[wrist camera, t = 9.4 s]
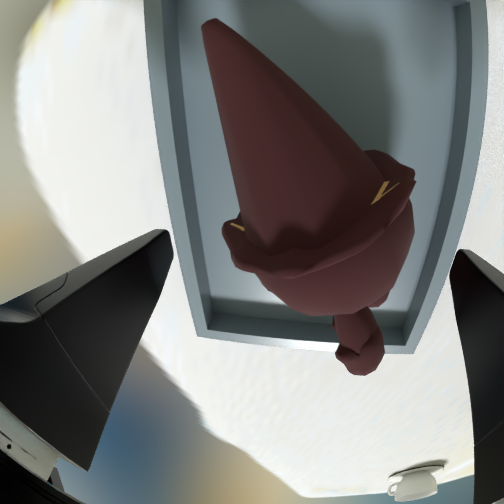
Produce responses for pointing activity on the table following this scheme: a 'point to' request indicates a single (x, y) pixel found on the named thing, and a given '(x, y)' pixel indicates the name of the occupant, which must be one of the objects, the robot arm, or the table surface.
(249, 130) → the icecream
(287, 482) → the table surface
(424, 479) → the teacup
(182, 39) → the tray
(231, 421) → the table surface
